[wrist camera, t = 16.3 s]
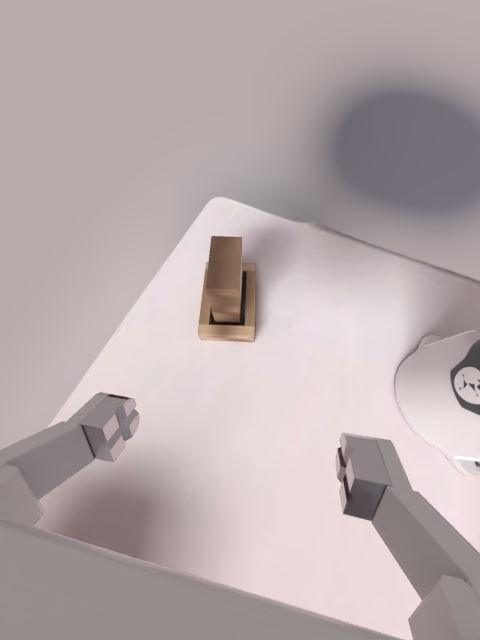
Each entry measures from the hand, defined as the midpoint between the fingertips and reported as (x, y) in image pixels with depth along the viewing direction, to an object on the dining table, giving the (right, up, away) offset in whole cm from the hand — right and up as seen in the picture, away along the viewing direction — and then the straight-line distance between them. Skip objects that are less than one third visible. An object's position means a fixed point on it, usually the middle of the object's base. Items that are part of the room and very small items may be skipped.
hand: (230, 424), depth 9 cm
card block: (-1, +7, +32) cm, 32 cm away
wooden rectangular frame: (-1, +7, +32) cm, 32 cm away
